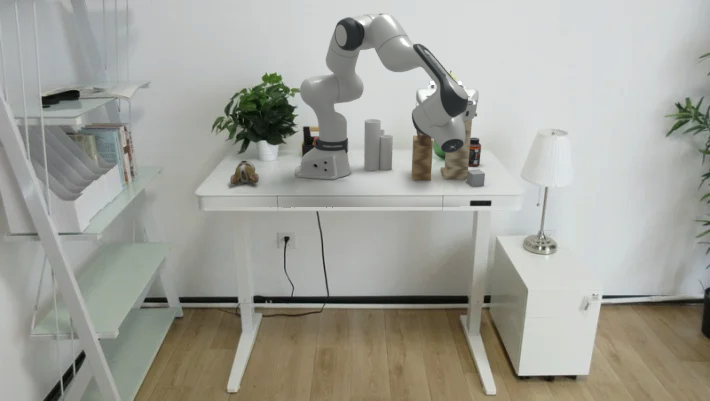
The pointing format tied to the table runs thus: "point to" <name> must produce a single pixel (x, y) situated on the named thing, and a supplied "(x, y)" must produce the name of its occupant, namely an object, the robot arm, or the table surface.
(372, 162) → the vase
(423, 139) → the walnut rail
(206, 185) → the table surface
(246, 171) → the ceramic sculpture
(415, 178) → the oak post
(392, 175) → the table surface
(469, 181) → the grey block
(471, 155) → the supplement bottle
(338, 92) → the robot arm
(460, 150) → the birch stand
